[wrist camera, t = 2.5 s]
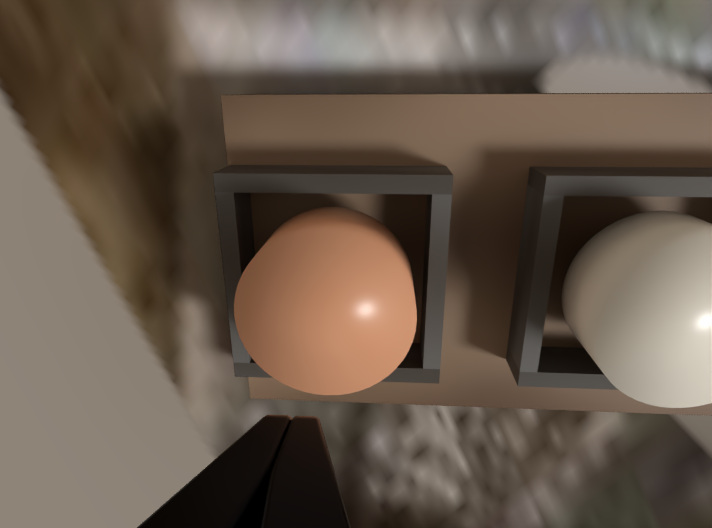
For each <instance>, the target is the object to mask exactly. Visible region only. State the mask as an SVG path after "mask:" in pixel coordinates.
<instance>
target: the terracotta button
mask: <svg viewBox="0 0 712 528" xmlns="http://www.w3.org/2000/svg"><path fill="white" fill-rule="evenodd" d="M234 317H235V323H236V327H237V330H238V334H239V337H240V339H241V341H242V343H243V345H244V347H245V349H246V350H247V352H248V353H249V355H250V356H251V357H252V359H253V360H254V361H255V362H256V363H257V365H259V366H260V367H261V368H262V369H263V370H264V371H265V372H266V373H267V374H269V375H270V376H271V377H273V378H274V379H276V380H278V381H279V382H281V383H283V384H285V385H287V386H289V387H291V388H294V389H297V390H300V391H303V392H307V393H312V394H318V395H343V394H350V393H354V392H358V391H361V390H364V389H366V388H369V387H371V386H373V385H375V384H377V383H379V382H380V381H382V380H383V379H384V378H386V377H387V376H389V375H390V374H391V373H392V372H393V371H394V370H395V369H396V368H397V367H398V366H399V365H400V363H401V362H402V361H403V359H404V358H405V356H406V355H407V353H408V351H409V349H410V347H411V345H412V342H413V339H414V335H415V332H416V323H417V309H416V301H415V294H414V286H413V278H412V271H411V266H410V262H409V259H408V256H407V254H406V252H405V250H404V248H403V246H402V245H401V243H400V242H399V240H398V239H397V238H396V236H395V235H394V234H393V233H392V232H391V231H390V230H389V229H388V228H387V227H386V226H385V225H383V224H382V223H381V222H379V221H378V220H376V219H375V218H373V217H371V216H369V215H367V214H365V213H362V212H359V211H356V210H353V209H348V208H343V207H321V208H316V209H311V210H308V211H305V212H302V213H300V214H298V215H296V216H294V217H292V218H290V219H289V220H287V221H286V222H284V223H283V224H282V225H281V226H280V227H279V228H277V229H276V231H275V232H274V233H273V234H272V235H271V237H270V238H269V239H268V240H267V242H266V243H265V244H264V245H263V247H262V248H261V249H260V250H259V251H258V253H257V254H256V255H255V256H254V258H253V259H252V260H251V261H250V263H249V264H248V265H247V267H246V269H245V270H244V272H243V273H242V276H241V278H240V280H239V283H238V286H237V289H236V293H235V300H234Z"/></svg>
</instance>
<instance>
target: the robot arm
mask: <svg viewBox="0 0 712 528" xmlns="http://www.w3.org/2000/svg"><path fill="white" fill-rule="evenodd" d="M137 528H351V527H350V524H349V520H348V517H347V513H346V510H345V506H344V503H343V499H342V496H341V492H340V489H339V486H338V482H337V479H336V475H335V472H334V468H333V465H332V461H331V458H330V454H329V451H328V447H327V444H326V441H325V437H324V434H323V430H322V427H321V423H320V420H319V419H318V418H317V417H314V416H295V417H294V418H293V419H292V418H291V417H290V416H288V415H267V416H265V417H263V418H262V419H261V420H260V421H259V422H257V423H256V424H255V425H254V426H253V427H252V428H251V429H249V430H248V431H247V432H246V433H245V434H244V435H243V436H241V437H240V438H239V439H238V440H237V441H236V442H234V443H233V444H232V445H231V446H230V447H229V448H228V449H226V450H225V451H224V452H223V453H222V454H221V455H220V456H218V457H217V458H216V459H215V460H214V461H213V462H212V463H210V464H209V465H208V466H207V467H206V468H205V469H204V470H203V471H201V472H200V473H199V474H198V475H197V476H196V477H194V478H193V479H192V480H191V481H190V482H189V483H188V484H186V485H185V486H184V487H183V488H182V489H181V490H180V491H179V492H177V493H176V494H175V495H174V496H173V497H171V498H170V499H169V500H168V501H167V502H166V503H165V504H163V505H162V506H161V507H160V508H159V509H158V510H157V511H155V513H153V514H152V515H151V516H150V517H149V518H147V519H146V520H145V521H144V522H143V523H142V524H141V525H139V526H138V527H137Z"/></svg>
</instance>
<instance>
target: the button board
mask: <svg viewBox="0 0 712 528" xmlns="http://www.w3.org/2000/svg"><path fill="white" fill-rule="evenodd" d="M221 103H222V113H223V123H224V134H225V144H226V154H227V164H228V166H227V167H225V168H223V169H221V170H219V171H217V172H215V173H213V179H214V189H215V198H216V207H217V216H218V225H219V234H220V244H221V253H222V262H223V271H224V280H225V289H226V298H227V308H228V317H229V326H230V335H231V344H232V353H233V362H234V372H235V377H248V379H249V389H250V398H255V399H282V400H308V401H335V402H362V403H389V404H415V405H442V406H469V407H495V408H522V409H549V410H576V411H602V412H629V413H656V414H682V415H710V416H712V403H710V404H706V405H701V406H696V407H687V408H667V407H658V406H653V405H649V404H646V403H643V402H640V401H637V400H635V399H633V398H631V397H629V396H627V395H626V394H624V393H623V392H621V391H619V390H618V389H617V388H616V387H615V386H614V385H613V384H612V383H611V382H610V381H609V380H608V378H607V377H606V376H605V375H604V373H603V372H602V371H601V369H600V368H599V367H598V366H597V364H596V363H595V362H594V360H593V359H592V358H591V356H590V355H589V354H588V352H587V351H586V350H585V348H584V347H583V346H582V344H581V343H580V342H579V340H578V339H577V338H576V336H575V335H574V334H573V333H572V331H571V329H570V328H569V326H568V324H567V322H566V319H565V317H564V313H563V309H562V298H561V297H562V287H563V283H564V278H565V276H566V273H567V270H568V268H569V266H570V264H571V262H572V261H573V259H574V257H575V256H576V255H577V253H578V252H579V250H580V249H581V248H582V247H583V246H584V245H585V244H586V243H587V242H588V241H589V240H590V239H591V238H592V237H593V236H594V235H595V234H597V233H598V232H600V231H601V230H602V229H604V228H605V227H607V226H609V225H611V224H612V223H614V222H616V221H618V220H621V219H623V218H626V217H628V216H631V215H635V214H638V213H643V212H649V211H675V212H680V213H685V214H688V215H691V216H694V217H696V218H699V219H701V220H704V221H706V222H708V223H711V224H712V93H575V94H574V93H539V94H256V95H221ZM321 207H343V208H348V209H353V210H356V211H359V212H362V213H365V214H367V215H369V216H371V217H373V218H375V219H376V220H378V221H379V222H381V223H382V224H383V225H385V226H386V227H387V228H388V229H389V230H390V231H391V232H392V233H393V234H394V235H395V236H396V238H397V239H398V240H399V242H400V243H401V245H402V246H403V248H404V250H405V252H406V254H407V256H408V259H409V262H410V266H411V271H412V278H413V286H414V294H415V301H416V309H417V323H416V332H415V335H414V339H413V342H412V345H411V347H410V349H409V351H408V353H407V355H406V356H405V358H404V359H403V361H402V362H401V363H400V365H399V366H398V367H397V368H396V369H395V370H394V371H393V372H392V373H391V374H390V375H389V376H387V377H386V378H384V379H383V380H382V381H380V382H379V383H377V384H375V385H373V386H371V387H369V388H366V389H364V390H361V391H358V392H354V393H350V394H343V395H318V394H312V393H307V392H303V391H300V390H297V389H294V388H291V387H289V386H287V385H285V384H283V383H281V382H279V381H278V380H276V379H274V378H273V377H271V376H270V375H269V374H267V373H266V372H265V371H264V370H263V369H262V368H261V367H260V366H259V365H257V363H256V362H255V361H254V360H253V359H252V357H251V356H250V355H249V353H248V352H247V350H246V349H245V347H244V345H243V343H242V341H241V339H240V337H239V334H238V330H237V327H236V323H235V317H234V300H235V293H236V289H237V286H238V283H239V280H240V278H241V276H242V273H243V272H244V270H245V269H246V267H247V265H248V264H249V263H250V261H251V260H252V259H253V258H254V256H255V255H256V254H257V253H258V251H259V250H260V249H261V248H262V247H263V245H264V244H265V243H266V242H267V240H268V239H269V238H270V237H271V235H272V234H273V233H274V232H275V231H276V229H277V228H279V227H280V226H281V225H282V224H283V223H284V222H286V221H287V220H289V219H290V218H292V217H294V216H296V215H298V214H300V213H302V212H305V211H308V210H311V209H316V208H321Z"/></svg>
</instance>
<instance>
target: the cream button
mask: <svg viewBox="0 0 712 528" xmlns="http://www.w3.org/2000/svg"><path fill="white" fill-rule="evenodd" d="M561 298H562V309H563V313H564V317H565V319H566V322H567V324H568V326H569V328H570V329H571V331H572V333H573V334H574V335H575V336H576V338H577V339H578V340H579V342H580V343H581V344H582V346H583V347H584V348H585V350H586V351H587V352H588V354H589V355H590V356H591V358H592V359H593V360H594V362H595V363H596V364H597V366H598V367H599V368H600V369H601V371H602V372H603V373H604V375H605V376H606V377H607V378H608V380H609V381H610V382H611V383H612V384H613V385H614V386H615V387H616V388H617V389H618V390H619V391H621V392H623V393H624V394H626V395H627V396H629V397H631V398H633V399H635V400H637V401H640V402H643V403H646V404H649V405H653V406H658V407H667V408H687V407H696V406H701V405H706V404H710V403H712V224H711V223H708V222H706V221H704V220H701V219H699V218H696V217H694V216H691V215H688V214H685V213H680V212H675V211H649V212H643V213H638V214H635V215H631V216H628V217H626V218H623V219H621V220H618V221H616V222H614V223H612V224H611V225H609V226H607V227H605V228H604V229H602V230H601V231H600V232H598V233H597V234H595V235H594V236H593V237H592V238H591V239H590V240H589V241H588V242H587V243H586V244H585V245H584V246H583V247H582V248H581V249H580V250H579V252H578V253H577V255H576V256H575V257H574V259H573V261H572V262H571V264H570V266H569V268H568V270H567V273H566V276H565V278H564V283H563V287H562V297H561Z"/></svg>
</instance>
